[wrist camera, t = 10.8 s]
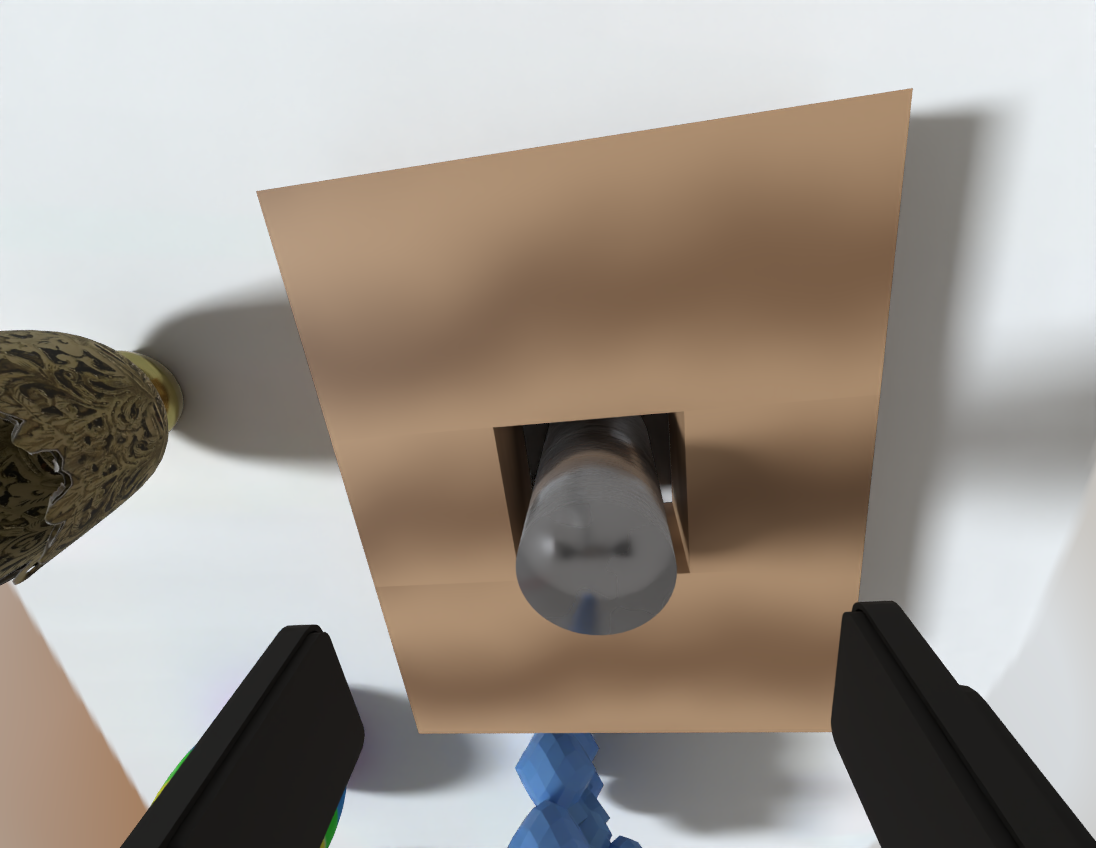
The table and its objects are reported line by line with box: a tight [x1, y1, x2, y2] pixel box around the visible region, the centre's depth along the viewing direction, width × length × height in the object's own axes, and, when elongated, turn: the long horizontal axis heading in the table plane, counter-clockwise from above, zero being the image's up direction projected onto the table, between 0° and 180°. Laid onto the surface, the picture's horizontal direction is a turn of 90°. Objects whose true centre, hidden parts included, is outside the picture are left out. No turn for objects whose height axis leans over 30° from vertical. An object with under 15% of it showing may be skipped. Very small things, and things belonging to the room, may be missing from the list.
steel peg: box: [516, 415, 677, 635], centre depth 17 cm, size 4×4×8 cm
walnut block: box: [256, 88, 913, 734], centre depth 18 cm, size 20×16×4 cm
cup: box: [0, 330, 183, 585], centre depth 18 cm, size 7×7×8 cm
